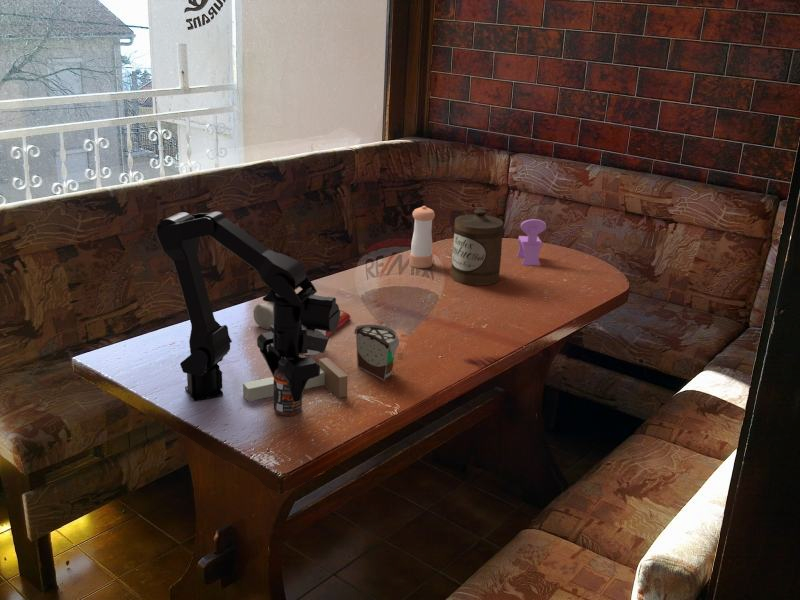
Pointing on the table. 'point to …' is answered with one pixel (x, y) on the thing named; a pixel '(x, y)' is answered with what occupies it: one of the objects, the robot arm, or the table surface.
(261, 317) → the ceramic sculpture
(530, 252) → the toy chair
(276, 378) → the supplement bottle
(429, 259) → the pepper shaker
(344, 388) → the wall board
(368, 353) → the food container
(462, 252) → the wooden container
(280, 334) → the robot arm
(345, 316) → the candy bar
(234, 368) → the table surface
